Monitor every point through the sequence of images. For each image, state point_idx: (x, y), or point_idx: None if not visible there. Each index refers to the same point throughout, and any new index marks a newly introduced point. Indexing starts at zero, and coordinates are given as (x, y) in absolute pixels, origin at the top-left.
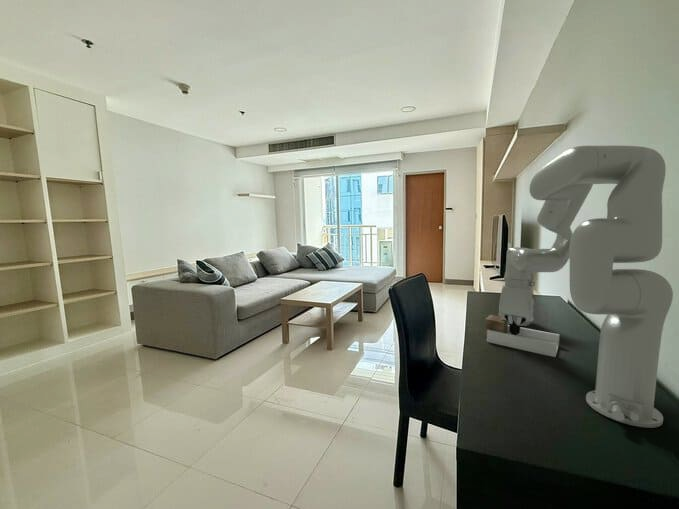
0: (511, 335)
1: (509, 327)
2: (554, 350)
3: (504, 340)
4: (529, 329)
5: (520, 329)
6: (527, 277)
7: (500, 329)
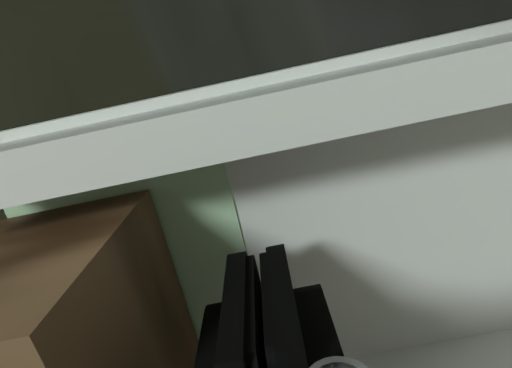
0: None
1: (128, 175)
2: None
3: None
4: (408, 104)
5: (280, 147)
6: None
7: None
